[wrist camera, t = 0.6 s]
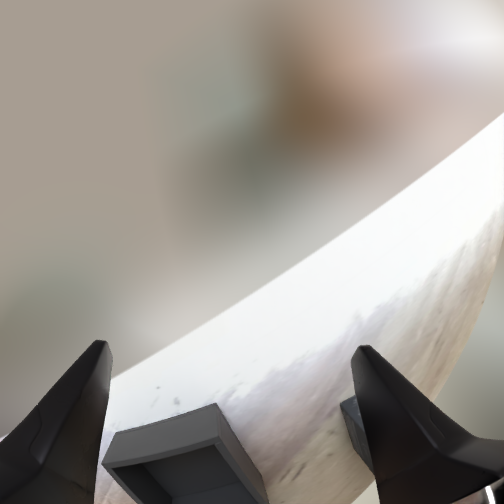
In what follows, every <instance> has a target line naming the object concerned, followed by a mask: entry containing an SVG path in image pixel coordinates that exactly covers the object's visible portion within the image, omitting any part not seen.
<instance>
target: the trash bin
mask: <svg viewBox="0 0 504 504" xmlns="http://www.w3.org/2000/svg"><path fill="white" fill-rule="evenodd" d="M101 464H102V466H103V467H104V468H105V469H106V470H107V472H108V473H109V474H110V475H111V476H112V477H113V478H114V480H115V481H116V482H117V483H118V484H119V485H120V486H121V487H122V488H123V489H124V490H125V492H126V493H127V494H128V495H129V496H130V497H131V498H132V499H133V500H134V501H135V502H136V503H137V504H269V500H268V497H267V493H266V490H265V487H264V483H263V480H262V476H261V474H260V473H259V471H258V470H257V468H256V467H255V465H254V464H253V462H252V461H251V459H250V458H249V456H248V455H247V453H246V451H245V450H244V448H243V447H242V445H241V444H240V442H239V440H238V439H237V437H236V436H235V434H234V432H233V431H232V429H231V427H230V426H229V424H228V422H227V421H226V419H225V417H224V416H223V414H222V412H221V410H220V409H219V407H218V405H217V403H213V404H211V405H208V406H205V407H202V408H199V409H196V410H193V411H190V412H187V413H184V414H181V415H178V416H175V417H172V418H168V419H165V420H162V421H158V422H155V423H151V424H147V425H144V426H140V427H136V428H132V429H128V430H124V431H120V432H116V433H115V435H114V437H113V439H112V441H111V444H110V446H109V448H108V450H107V452H106V454H105V456H104V459H103V461H102V463H101Z"/></svg>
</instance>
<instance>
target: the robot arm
mask: <svg viewBox="0 0 504 504" xmlns="http://www.w3.org/2000/svg"><path fill="white" fill-rule="evenodd" d="M112 362H113V357H112V353H111V351H110V348H109V345H108V343H107V342H106V341H102V340H95V341H94V342H93V343H92V344H91V345H90V346H89V347H88V348H87V350H86V351H85V352H84V353H83V354H82V355H81V356H80V357H79V358H78V360H76V361H75V363H74V364H73V365H72V366H71V367H70V368H69V369H68V370H67V371H66V372H65V373H64V375H63V376H62V377H61V378H60V379H59V380H58V381H57V382H56V383H55V385H54V386H53V387H52V388H51V389H50V390H49V391H48V393H47V394H46V395H45V396H44V397H43V398H42V399H41V401H40V402H39V403H38V405H36V406H35V407H34V409H33V410H32V411H31V412H30V413H29V414H28V416H27V417H26V418H25V419H24V420H23V421H22V422H21V423H20V424H19V425H18V426H17V427H16V428H15V429H14V430H13V431H12V432H11V433H10V434H9V435H7V436H6V437H5V438H4V439H3V440H2V441H1V442H0V504H94V493H95V482H96V474H97V465H98V458H99V451H100V444H101V438H102V432H103V426H104V421H105V415H106V410H107V405H108V399H109V390H110V380H111V370H112ZM351 368H352V374H353V381H354V387H355V394H356V399H357V403H358V407H359V411H360V415H361V419H362V423H363V427H364V431H365V435H366V439H367V443H368V448H369V452H370V456H371V461H372V465H373V470H374V475H375V479H376V484H377V490H378V495H379V500H380V504H504V440H493V439H483V438H479V437H476V436H474V435H472V434H471V433H469V432H468V431H466V430H465V429H464V428H462V427H461V426H460V425H458V424H457V423H456V422H455V421H453V420H452V419H450V418H449V417H448V416H447V415H445V414H444V413H443V412H442V411H441V410H440V409H439V408H438V407H436V406H435V405H434V404H433V403H432V402H431V401H430V400H429V399H428V398H427V397H426V396H425V395H423V394H422V393H421V392H420V391H419V390H418V389H417V388H416V387H415V386H414V385H413V384H412V383H411V382H409V381H408V380H407V379H406V378H405V377H404V376H403V375H402V374H401V373H400V372H399V371H397V370H396V369H395V368H394V367H393V366H392V365H391V364H390V363H389V362H388V361H387V360H385V359H384V358H383V357H382V356H381V355H380V354H379V353H378V352H377V351H376V350H375V349H373V348H372V347H371V346H370V345H360V346H359V347H358V348H357V350H356V351H355V353H354V355H353V357H352V359H351Z"/></svg>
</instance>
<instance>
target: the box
mask: <svg viewBox="0 0 504 504" xmlns="http://www.w3.org/2000/svg"><path fill="white" fill-rule="evenodd" d="M340 406H341V409H342V412H343V416H344V419H345V422H346V425H347V428H348V431H349V434H350V438H351V441H352V444H353V447H354V449H355V451H356V452H357V453H358V454H359V456H360V457H361V458H362V460H363V461H364V462H365V464H366V465H367V466H368V467H369V469H370V470H371V471H372V473H373V474H374V470H373V465H372V461H371V456H370V452H369V448H368V443H367V439H366V435H365V431H364V427H363V423H362V419H361V415H360V411H359V407H358V403H357V399H356V395H354V396H353V397H351V398H349V399H347V400H345V401H343V402H342V403H340Z"/></svg>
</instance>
